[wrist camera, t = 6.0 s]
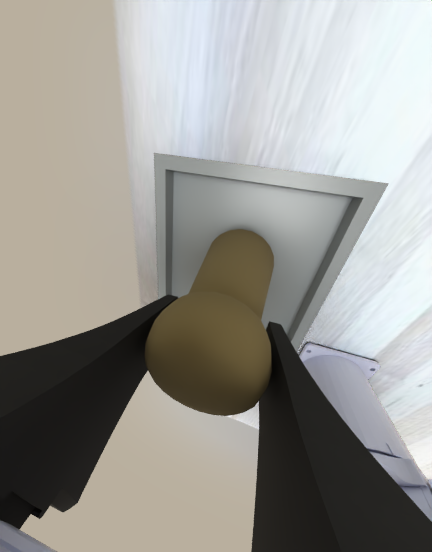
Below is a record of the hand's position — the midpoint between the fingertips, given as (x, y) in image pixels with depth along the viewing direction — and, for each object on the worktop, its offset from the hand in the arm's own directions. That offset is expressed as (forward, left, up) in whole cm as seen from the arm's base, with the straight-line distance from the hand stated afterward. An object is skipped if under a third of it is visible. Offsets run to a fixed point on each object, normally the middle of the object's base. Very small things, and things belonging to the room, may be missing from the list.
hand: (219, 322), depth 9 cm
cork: (+1, 0, -7) cm, 7 cm away
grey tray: (0, 0, -10) cm, 10 cm away
